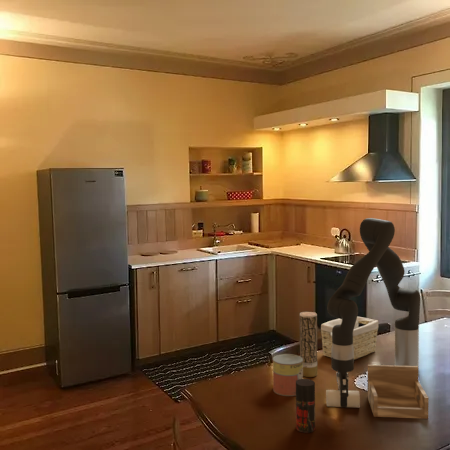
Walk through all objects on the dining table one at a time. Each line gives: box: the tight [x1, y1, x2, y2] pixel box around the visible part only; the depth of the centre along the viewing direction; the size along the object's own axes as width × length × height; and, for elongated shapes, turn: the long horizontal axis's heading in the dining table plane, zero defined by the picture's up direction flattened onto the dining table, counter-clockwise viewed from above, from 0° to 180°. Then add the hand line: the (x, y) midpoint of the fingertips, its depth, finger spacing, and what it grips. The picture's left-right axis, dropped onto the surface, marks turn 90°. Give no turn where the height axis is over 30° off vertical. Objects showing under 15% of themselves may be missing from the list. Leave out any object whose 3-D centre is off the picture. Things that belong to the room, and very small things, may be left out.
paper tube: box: [299, 311, 318, 378], centre depth 207 cm, size 7×7×25 cm
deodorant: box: [295, 378, 316, 434], centre depth 162 cm, size 6×6×15 cm
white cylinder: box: [325, 389, 361, 409], centre depth 178 cm, size 6×11×6 cm, turn 82°
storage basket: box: [320, 316, 379, 361], centre depth 232 cm, size 24×16×15 cm
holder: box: [367, 364, 430, 420], centre depth 176 cm, size 15×17×12 cm
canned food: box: [272, 353, 304, 397], centre depth 193 cm, size 11×11×12 cm
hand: (342, 401), depth 179 cm, fingers open, 8 cm apart
